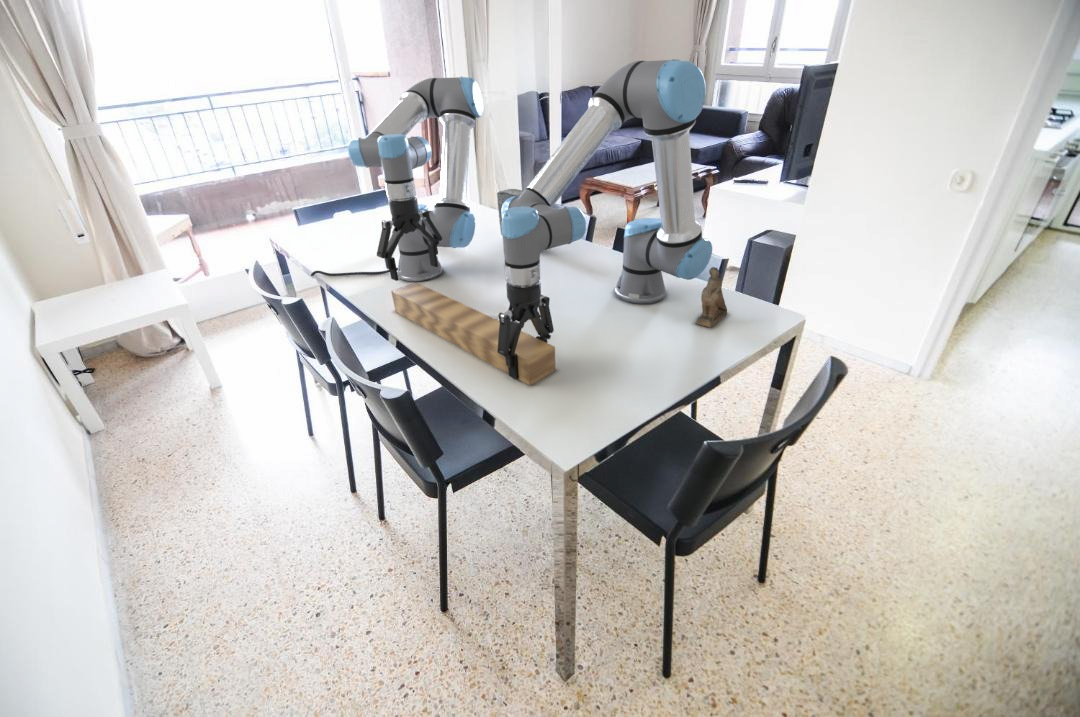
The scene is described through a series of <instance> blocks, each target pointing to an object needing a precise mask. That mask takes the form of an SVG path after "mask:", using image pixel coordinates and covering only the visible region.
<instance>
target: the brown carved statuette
mask: <svg viewBox="0 0 1080 717" xmlns="http://www.w3.org/2000/svg"><path fill="white" fill-rule="evenodd" d="M708 273H709V275H710V276H709V278H708V279H707V280H708V281H707V284H706V286H705V287H704V288H703V290H702V292H701V297H700V298H701V309H702V312H701V315H700V316H699V317H698V318H697V319H696V321H695V324H696V325H699V326H703V327H705V328H712V327H714V326H715V325H716V324H717V323H719V321H721V320H722V319H723V318H725V317H726V316H727V315H728V307H727V304H726V301H725V298H724V293H723V290H722V287H723V281H722V279H721V278H720V270H719V269H718V268H717V267H715V266H712V267H711V268H710V269H709V270H708Z"/></svg>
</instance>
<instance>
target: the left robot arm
mask: <svg viewBox="0 0 1080 717" xmlns="http://www.w3.org/2000/svg"><path fill="white" fill-rule="evenodd" d="M483 113H484V102H483V96H482V91H481V88H480V86H479V83H478V81H476V79H474V78H473V77H470V76H469V77H468V76H467V77H466V76H459V77H458V76H456V77H455V76H454V77H429V78H425V79H423V80H421V81H418V82H417V83H415V84H413V85H412V86H410V87H409V88H408V89H407V90H406V91H404V92H403V93H402V94H401V95H400V97H399V100H398V104H396V105H395V106H394V108H393V109H392V110H391V111H390V112H389V113H388V114H387V115H386V116H385V117H384V118H383V119H382V120H381V121H380V122H378V124H377V125H376V126H375V127H374V128H373V129H372V130H371V131H370V132H369V133H368V134H366V136H365V137H362V138H361V137H357V138H356V137H355V138H352V139H350V141H349V142H348V145H347V154H348V157H349V160H350V162H351V163H352V164H353V165H354V166H356V167H357V168H359V167H360V168H366V169H367V168H368V169H369V168H382V174H383V177H384V184H385V191H386V197H387V198H388V199H389V200H388V206H389V212H390V215H391V220H385V219H383V220H381V232H380V237H379V241H378V247H377V250H376V257H378V258H381V259H384V264H385V268H386V269H387V270H381V271H356V272H355V271H352V272H351V271H350V272H338V273H337V272H336V273H335V272H334V273H331V272H326V271H322V270H314V271H312V272H311V274H310V276H311V277H314V276H315V275H316V274H320V275H323V276H328V277H343V276H344V277H345V276H357V275H358V276H360V275H363V276H364V275H365V276H366V275H368V276H369V275H384V274H390V280H393V281H396V282H397V281H400V280H402V281H406V282H413V283H415V282H425V281H429V280H432V279H435V278H438V277H439V276H440V275H441V274H442V273H443V268H442V264H441V263H440V260H439V257H438V255H439V250H438V248H452V249H457V248H458V249H459V248H461V249H462V248H464V249H465V248H466V247H468V246H469V245H470V244H471V242H472V241H473V239H474V235H475V232H476V217H475V215H474V213H473V212H471V209H470V208H471V207H470V206H469V205H468V204H467V190H468V189H467V188H468V173H469V158H470V143H471V130H472V129H473V128H474V127H475V126H476V124H477V123H476V121H477V119H479V118H481V117H482V116H483ZM435 118H439V121H440V123H441V124H442V125H443V134H442V135H443V136H442V153H441V168H440V169H441V170H440V184H439V185H440V187H439V199H438V200H437V201H435V202H434V205H433V206H434V207H433V210H429V208H428V205H426V204H419V203H418V198H417V197H416V196H417V192H416V191H417V190H416V185H415V178H414V172H413V170H415V169H417V168H420V167H423V166H424V165H426V164H427V163H428V162H429V161H430V160H431V158H432V155H433V154H432V147H431V145H430V142H429V141H428V140H426V138H424V137H423V136H419V135H418V136H410V137H408V134H410V132H411V131H412V130H413V129H414V128H415V127H416V125H418V124H420V123H423V122H424V121H425V120H427V119H435ZM397 247H398V251H399V259H398V265H397V264H396V258H395V257H393V255H394V253H395V251H396V249H397ZM399 279H400V280H399Z"/></svg>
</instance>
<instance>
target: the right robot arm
mask: <svg viewBox="0 0 1080 717" xmlns="http://www.w3.org/2000/svg"><path fill="white" fill-rule="evenodd" d="M706 94H707V86H706V80H705V76H704V74H703V73H702V71H701V69H700V68H699V67H698V66H697V65H696V64H695V63H694V62H691V61H690V60H680V59H673V58H672V59H665V60H663V59H662V60H635V61H633V62H629V63H627V64H625V65H624V66H622V67H620V69H618V70H617V71H615V72H613V74H612V75H610V76H609V77H608V78H607V79H606V80H605V81H604V83H602V84H601V85H600V86H599V87H598V89H597V90H596V91H595V92H594V93H593V95H592V96H591V97H590V98H589V100H588V103H587V107H588V108H587V110H586V111H584V114H582V115H581V117H580V118H579V120H578V121H577V122H576V124H575V125H574V126H573V127H572V129H571V130H570V132H569V133H568V134H567V135H566V137H565V138H564V139H563V141H561V143H560V144H559V146H558V147H557V148H556V149H555V151H553V153H552V155H551V156H550V157H549V158H548V159H547V161H546V162H545V164H544V165H543V166H542V167H541V169H539V171H538V172H537V173H536V175H535V176H534V178H533V179H532V180H531V181H530V183H528V185H527V186H526V188H525V189H524V190H523V191H524V192H523V193H522V194H521V195H520V196H513V197H510V198H508V199H507V200H506V201H505V202H504V204H503V206H502V210H501V216H502V235H501V237H502V245H503V248H502V249H503V258H504V276H505V281H506V284H505V288H506V299H507V300H508V302H509V306H508V310H507V311H504V312H499V313H498V315H497V318H498V321H499V322H500V326H499V338H498V350H497V352H498V353H499V354H501V355H502V356H504V357H505V359H506V365H507V366H508V370H509V374H508V376H509V377H510V378H513V379H515V380H519V379H518V378H519V372H518V357H517V354H515V350H516V346H517V343H518V339H519V336H520V332H521V331H522V329H523V328H524V327H525V323H527V322H528V321H530V322H531V323H532V326H533V327H534V329H535V331H536V333H537V336H535V338H537V339H540V340H542V341H544V342H546V343H548V340H550V339H551V338H552V335H551V334H553V333H554V331H555V330H554V325H553V320H552V315H551V314H552V313H551V309H550V301H551V300H550V299H551V298H550V297H549V296H546V295H543V294H542V287H541V286H542V284H541V281H540V280H541V252H542V251H546V250H549V249H550V250H551V249H554V248H557V247H561V246H564V245H571V244H573V243H574V242H577V241H579V240H582V238H583V237H584V236H585V234H586V231H587V220H586V217H585V214H584V213H583V212H582V210H581V209H580V208H578V207H577V206H568V207H567V206H564V207H562V208H556V207H554V206H555V204H556V203H557V202H558V200H559V199H560V198H561V197H562V195H563V194H564V193H565V191H566V190H567V189H568V188H569V186H570V185H571V184H572V183H573V181H575V179H576V177H578V175H579V174H580V172H581V171H582V170H583V169H584V167H585V166H586V165H587V164H588V162H589V161H590V160H591V158H592V157H594V155H595V153H596V152H597V151H598V149H599V148H600V146H601V145H602V144H603V143H604V142H605V140H606V139H607V138H608V137H609V135H610V134H611V133H612V132H613V131H617V130H619V129H620V128H621V127H622V126H623V124H624V123H626V121H628V120H630V119H633V118H637V119H641V120H642V126H643V133H644V135H646V136H647V137H648V138H650V139H651V145H652V153H653V154H652V155H653V163H654V173H655V180H656V188H657V189H656V190H657V198H658V199H657V200H658V207H659V215H660V217H646V218H639V219H634V220H631V221H629V222H627V224H626V225H625V228H624V235H623V253H622V270H621V273H620V275H619V277H618V280H617V283H616V286H615V291H614V292H615V296H616V298H618V299H619V300H621V301H623V302H626V303H630V304H636V305H648V304H649V305H650V304H655V303H658V302H660V301H662V300H663V299H664V298H665V297H666V285H665V282H664V276H663V273H665V274H668V275H670V276H673V277H675V278H677V279H682V280H687V281H690V280H694V279H696V278H697V277H699V276H700V275H701V274H702V273H703V272H704V271H705V269H706V268H707V266H708V265H709V263H710V261H711V258H712V254H713V244H712V242H711V240H709V239H708V238H704V237H703V230H702V224H700V223H699V222H698V221H696V215H695V199H694V184H693V182H694V181H693V168H692V166H693V165H692V156H691V155H692V153H691V138H690V136H691V135H690V132H691V131H690V130H691V129H692V128H693V127H694V126H695V124H696V122H697V120H696V119H697V117H698V116H699V115H700V114H701V112H702V110H703V109H704V105H703V103H705V101H706V96H707V95H706Z"/></svg>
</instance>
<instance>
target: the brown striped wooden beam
mask: <svg viewBox="0 0 1080 717" xmlns="http://www.w3.org/2000/svg"><path fill="white" fill-rule="evenodd" d="M391 296H392V301H393V307H394V311H395V312H396V313H398V314H399V315H401V316H403V317H405V318H406V319H408V320H410V321H412V322H414V323H415V324H416V325H419V326H421V327H423V328H425V329H426V330H428V331H430V332H431V333H433V334H436V335H437V336H438V337H441V338H442V339H444V340H446V341H448V342H449V343H451V344H453V345H455V346H457V347H459V348H461V349H462V350H465V351H466V352H468V353H470V354H472V355H473V356H475V357H478V358H479V359H481V360H482V361H484V362H486V363H488V364H489V365H491V366H493V367H495V368H497V369H498V370H500V371H503V372H504V373H506V374H507V375H509V370H508V366H507V365H506V359H505V357H504V356H502V355H501V354H499V353H498V352H497V350H498V338H499V326H500V322H499V319H496V318H494V317H492V316H490V315H487V314H486V313H483V312H481V311H479V310H477V309H474V308H473V307H470V306H468V305H466V304H463V303H462V302H459V301H457V300H455V299H453V298H450V297H448V296H447V295H444V294H442V293H440V292H437V291H435V290H434V289H431V288H429V287H427V286H425V285H423V284H420V283H418V282H417V281H415V282H412V283H409V284H407V285H404V286H402V287H399V288H396V289H393V290H391ZM515 354H517V357H518V372H519V378H518V379H517V380H519V381H520V382H522V383H523V384H526V385H528V386H532V385H534V384H536V383H537V382H539V381H541V380H542V379H544V378H546V377H547V376H549V375H551V374H553V373H554V372H555V371H556V346H555V345H553V344H550V343H548V342H547V343H546V342H544V341H542V340H540V339H537V338H536V336H533V335H531V334H528V332H527V333H526V332H524V331H522V330H521V332H520V336H519V339H518V343H517V346H516V350H515Z"/></svg>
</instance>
